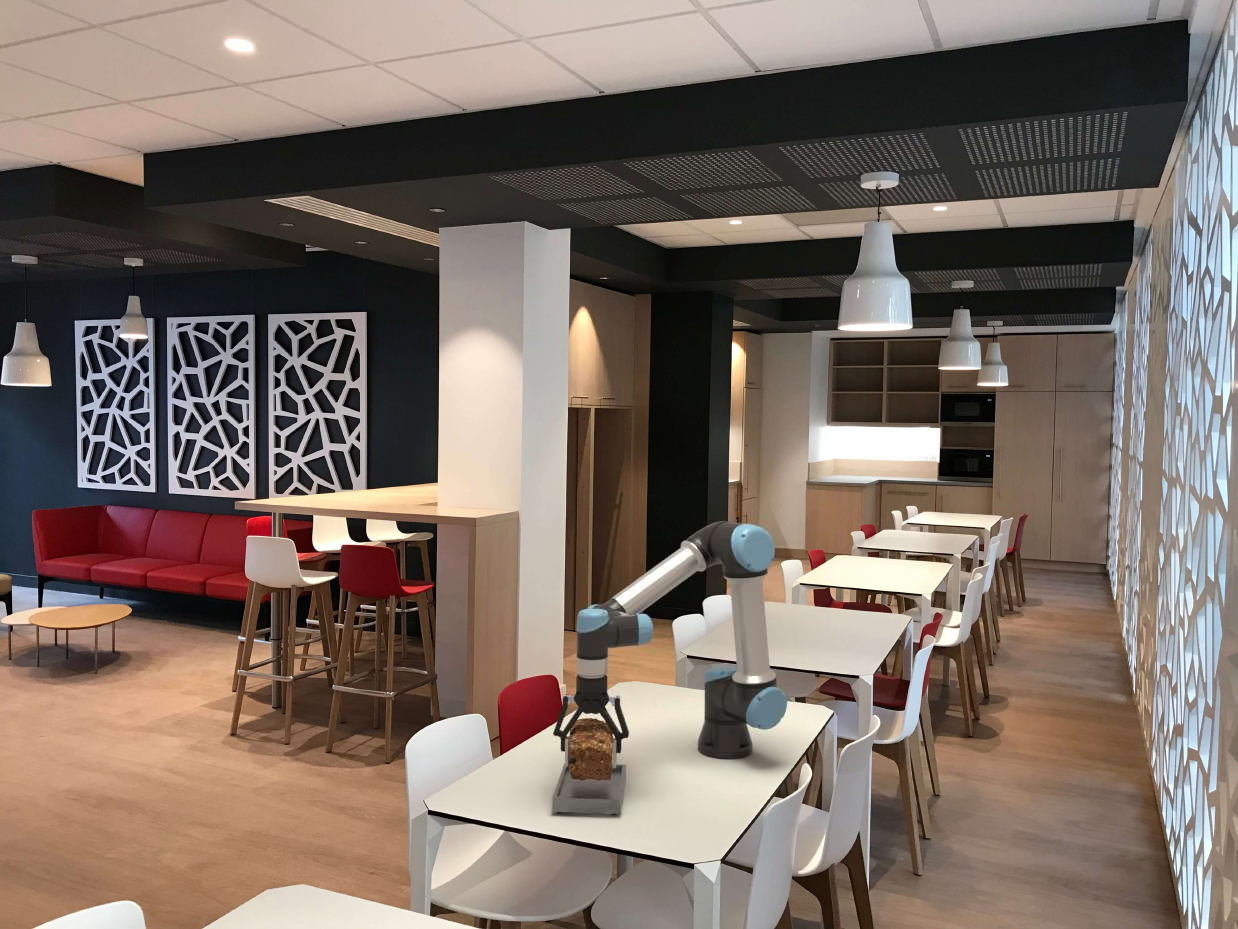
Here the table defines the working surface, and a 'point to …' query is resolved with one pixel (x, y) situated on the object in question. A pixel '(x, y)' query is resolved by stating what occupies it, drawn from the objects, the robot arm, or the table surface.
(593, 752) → the bread
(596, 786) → the grey serving tray
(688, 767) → the table surface
